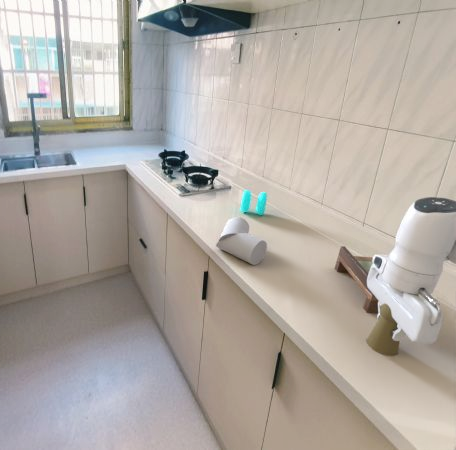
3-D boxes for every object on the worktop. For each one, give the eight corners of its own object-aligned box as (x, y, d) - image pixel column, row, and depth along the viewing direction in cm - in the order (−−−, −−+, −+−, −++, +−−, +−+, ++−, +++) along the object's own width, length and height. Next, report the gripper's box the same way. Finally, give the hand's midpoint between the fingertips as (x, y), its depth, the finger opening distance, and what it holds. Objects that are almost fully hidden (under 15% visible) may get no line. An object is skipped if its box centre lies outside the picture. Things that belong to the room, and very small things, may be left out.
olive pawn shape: (371, 352, 74) (387, 312, 70) (363, 334, 79) (377, 295, 75) (402, 358, 73) (420, 317, 68) (391, 339, 78) (407, 299, 74)
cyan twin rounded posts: (241, 207, 154) (244, 186, 150) (264, 211, 151) (268, 189, 147) (239, 215, 146) (242, 193, 142) (263, 219, 143) (267, 196, 139)
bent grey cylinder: (198, 243, 117) (245, 267, 103) (205, 214, 114) (254, 234, 100) (228, 240, 129) (274, 261, 115) (236, 213, 126) (284, 232, 112)
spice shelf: (367, 271, 106) (374, 248, 103) (407, 316, 86) (418, 290, 83) (334, 268, 107) (340, 246, 104) (366, 312, 87) (375, 286, 84)
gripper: (463, 309, 59) (434, 368, 64) (398, 253, 78) (380, 302, 83) (424, 306, 59) (399, 364, 65) (369, 251, 78) (353, 300, 84)
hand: (388, 329), depth 74 cm, fingers closed on olive pawn shape, 4 cm apart
